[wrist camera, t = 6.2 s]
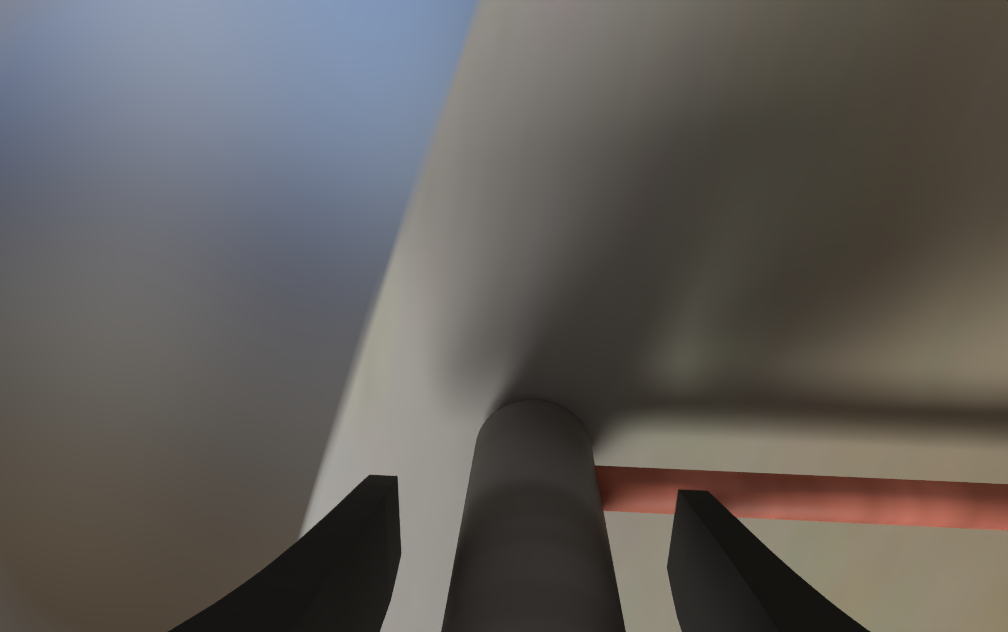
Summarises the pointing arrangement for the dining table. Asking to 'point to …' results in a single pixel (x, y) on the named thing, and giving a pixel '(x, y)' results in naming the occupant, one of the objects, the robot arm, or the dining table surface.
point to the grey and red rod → (593, 489)
